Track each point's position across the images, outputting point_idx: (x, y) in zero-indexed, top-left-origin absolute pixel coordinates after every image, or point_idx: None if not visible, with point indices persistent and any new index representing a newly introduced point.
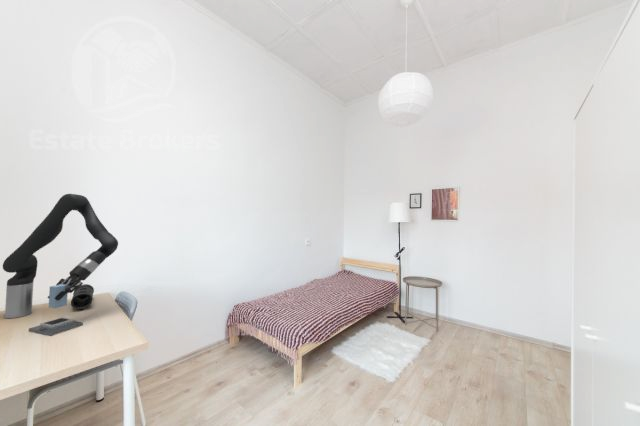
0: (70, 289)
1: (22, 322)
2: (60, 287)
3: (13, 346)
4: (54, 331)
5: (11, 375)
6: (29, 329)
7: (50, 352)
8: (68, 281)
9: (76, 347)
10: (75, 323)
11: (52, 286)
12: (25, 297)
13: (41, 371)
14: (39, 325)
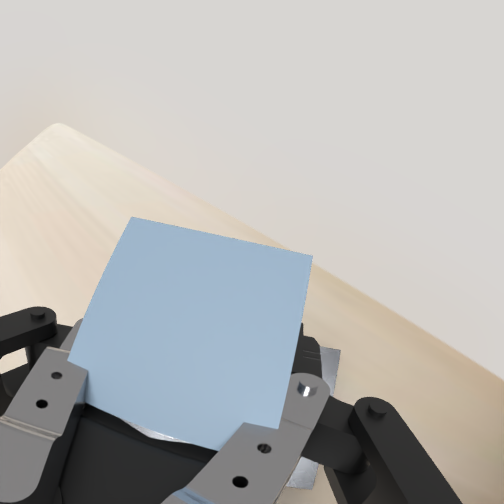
0: (27, 354)
1: (479, 419)
2: (107, 285)
3: (215, 226)
4: None
5: (73, 136)
6: (331, 349)
7: (57, 206)
8: (46, 434)
9: (11, 235)
10: (146, 429)
11: (261, 264)
12: None
13: (31, 153)
14: (331, 391)
